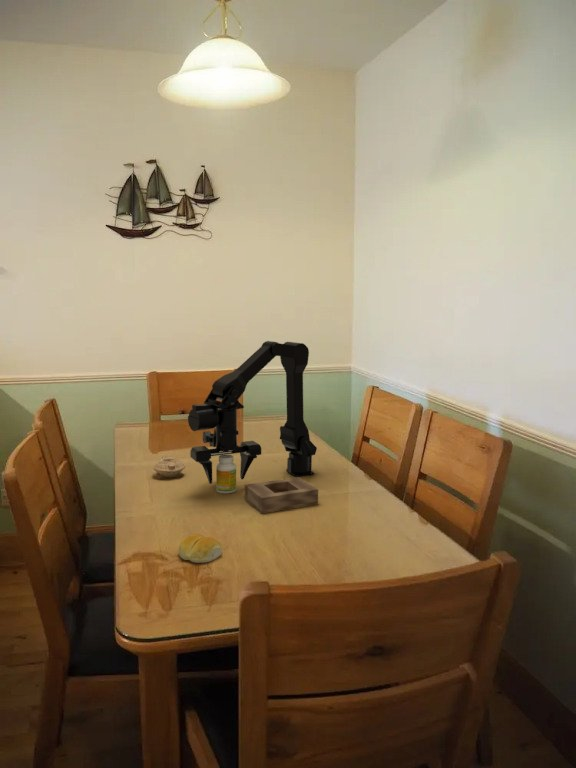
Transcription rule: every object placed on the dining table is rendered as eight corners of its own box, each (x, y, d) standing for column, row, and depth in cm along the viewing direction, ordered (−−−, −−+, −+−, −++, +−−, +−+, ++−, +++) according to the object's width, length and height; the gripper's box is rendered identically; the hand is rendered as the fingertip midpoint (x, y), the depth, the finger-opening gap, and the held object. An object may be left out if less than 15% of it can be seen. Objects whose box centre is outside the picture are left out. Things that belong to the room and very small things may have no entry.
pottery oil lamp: (179, 465, 188) (187, 447, 185) (178, 489, 177) (187, 471, 174) (151, 457, 185) (159, 439, 182) (149, 481, 174) (158, 463, 172)
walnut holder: (298, 491, 166) (298, 477, 166) (317, 504, 157) (318, 489, 156) (244, 499, 159) (244, 484, 159) (261, 513, 150) (261, 498, 149)
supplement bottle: (232, 494, 163) (232, 459, 161) (213, 493, 164) (213, 458, 162) (238, 488, 168) (238, 454, 167) (219, 486, 169) (219, 453, 168)
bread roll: (195, 543, 133) (195, 525, 132) (227, 553, 128) (227, 535, 127) (169, 556, 126) (169, 538, 125) (202, 568, 121) (202, 549, 120)
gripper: (246, 417, 174) (246, 469, 177) (184, 422, 166) (184, 477, 169) (262, 425, 164) (261, 480, 167) (196, 431, 156) (197, 489, 159)
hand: (226, 481), depth 166 cm, fingers open, 9 cm apart
